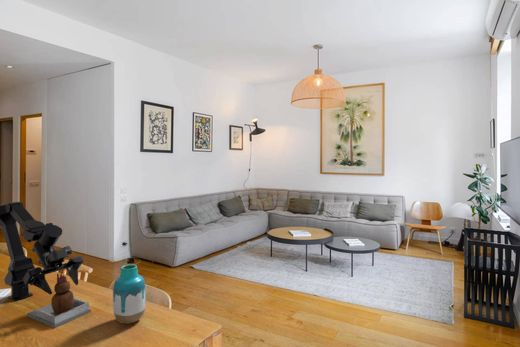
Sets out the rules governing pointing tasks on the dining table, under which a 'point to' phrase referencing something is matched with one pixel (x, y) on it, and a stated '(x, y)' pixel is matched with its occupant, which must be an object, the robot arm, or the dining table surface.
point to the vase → (129, 295)
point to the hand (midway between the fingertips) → (64, 289)
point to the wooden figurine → (62, 296)
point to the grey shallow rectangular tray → (54, 320)
